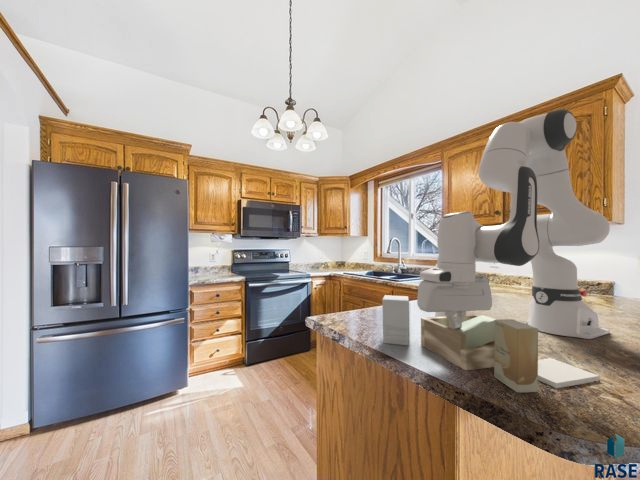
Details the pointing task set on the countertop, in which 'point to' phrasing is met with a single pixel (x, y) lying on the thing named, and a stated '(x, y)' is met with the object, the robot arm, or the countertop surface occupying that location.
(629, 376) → the countertop surface
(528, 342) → the skincare box
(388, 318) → the supplement box
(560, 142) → the robot arm
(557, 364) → the mat
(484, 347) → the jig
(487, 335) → the block
